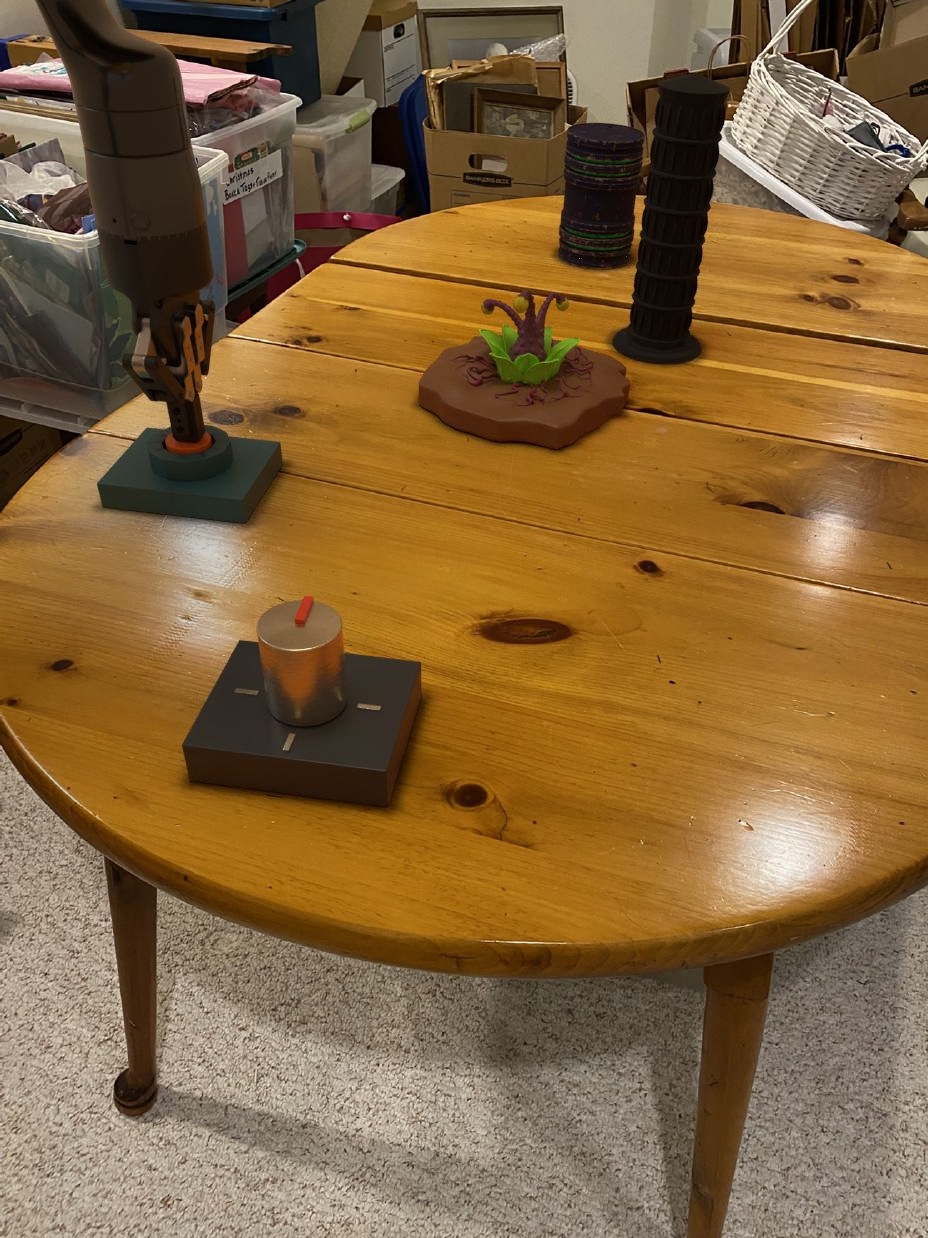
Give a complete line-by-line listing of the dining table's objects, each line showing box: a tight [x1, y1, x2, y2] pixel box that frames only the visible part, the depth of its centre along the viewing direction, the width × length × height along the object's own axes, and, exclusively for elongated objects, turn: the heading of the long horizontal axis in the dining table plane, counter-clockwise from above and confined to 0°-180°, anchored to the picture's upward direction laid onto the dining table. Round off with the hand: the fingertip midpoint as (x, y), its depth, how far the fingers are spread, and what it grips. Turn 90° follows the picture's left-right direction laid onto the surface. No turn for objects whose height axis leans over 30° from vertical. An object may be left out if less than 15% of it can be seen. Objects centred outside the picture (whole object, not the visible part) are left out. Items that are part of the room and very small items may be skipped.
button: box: [165, 431, 212, 455], centre depth 84 cm, size 4×4×2 cm
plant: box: [418, 289, 631, 450], centre depth 98 cm, size 20×20×11 cm
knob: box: [255, 595, 348, 727], centre depth 60 cm, size 5×5×6 cm
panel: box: [181, 639, 422, 808], centre depth 63 cm, size 12×10×3 cm
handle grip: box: [611, 73, 731, 365], centre depth 105 cm, size 10×26×10 cm
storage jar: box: [557, 122, 646, 270], centre depth 131 cm, size 10×10×15 cm
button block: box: [96, 424, 284, 524], centre depth 85 cm, size 12×10×4 cm
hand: (189, 438), depth 83 cm, fingers closed
